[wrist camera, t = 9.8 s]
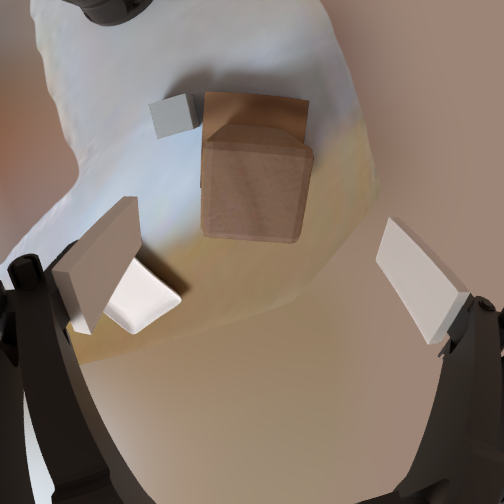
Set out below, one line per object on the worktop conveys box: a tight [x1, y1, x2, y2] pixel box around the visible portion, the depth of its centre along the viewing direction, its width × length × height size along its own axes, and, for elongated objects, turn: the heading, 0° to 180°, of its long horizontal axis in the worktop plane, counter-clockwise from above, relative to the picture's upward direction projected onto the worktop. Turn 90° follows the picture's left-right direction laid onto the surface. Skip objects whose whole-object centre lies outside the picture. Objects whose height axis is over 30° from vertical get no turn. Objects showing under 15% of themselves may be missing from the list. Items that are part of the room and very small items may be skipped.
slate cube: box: [149, 93, 199, 139], centre depth 40 cm, size 6×6×6 cm
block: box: [201, 124, 314, 244], centre depth 33 cm, size 10×10×20 cm
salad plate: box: [103, 257, 182, 334], centre depth 59 cm, size 21×21×3 cm
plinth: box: [200, 92, 309, 188], centre depth 43 cm, size 16×16×5 cm
